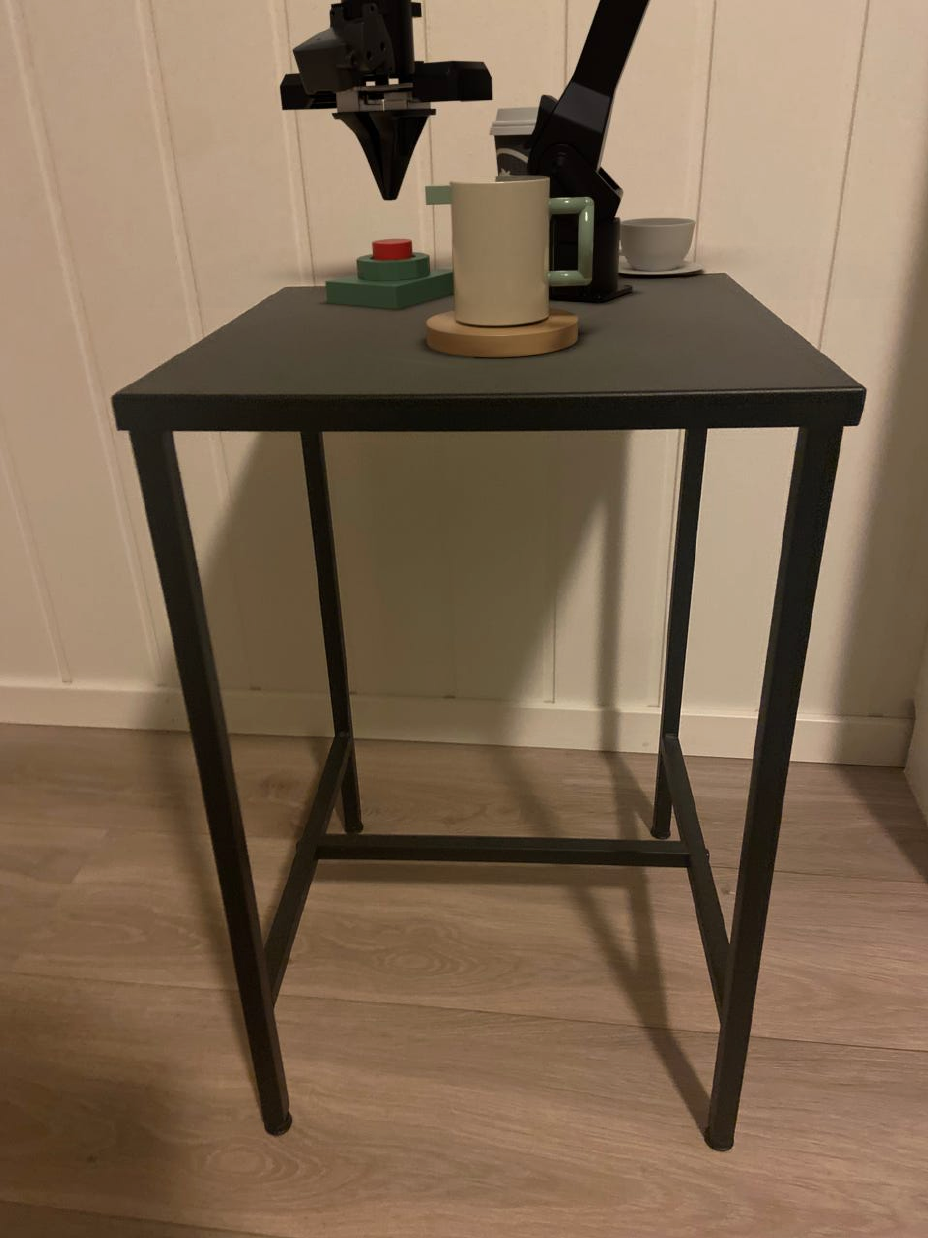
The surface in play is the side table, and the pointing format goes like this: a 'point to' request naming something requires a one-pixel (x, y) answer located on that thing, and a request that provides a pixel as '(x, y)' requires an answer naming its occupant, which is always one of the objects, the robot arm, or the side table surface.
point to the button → (392, 249)
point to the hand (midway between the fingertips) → (390, 200)
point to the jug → (508, 246)
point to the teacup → (656, 246)
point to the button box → (391, 283)
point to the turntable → (502, 336)
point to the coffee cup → (516, 147)
